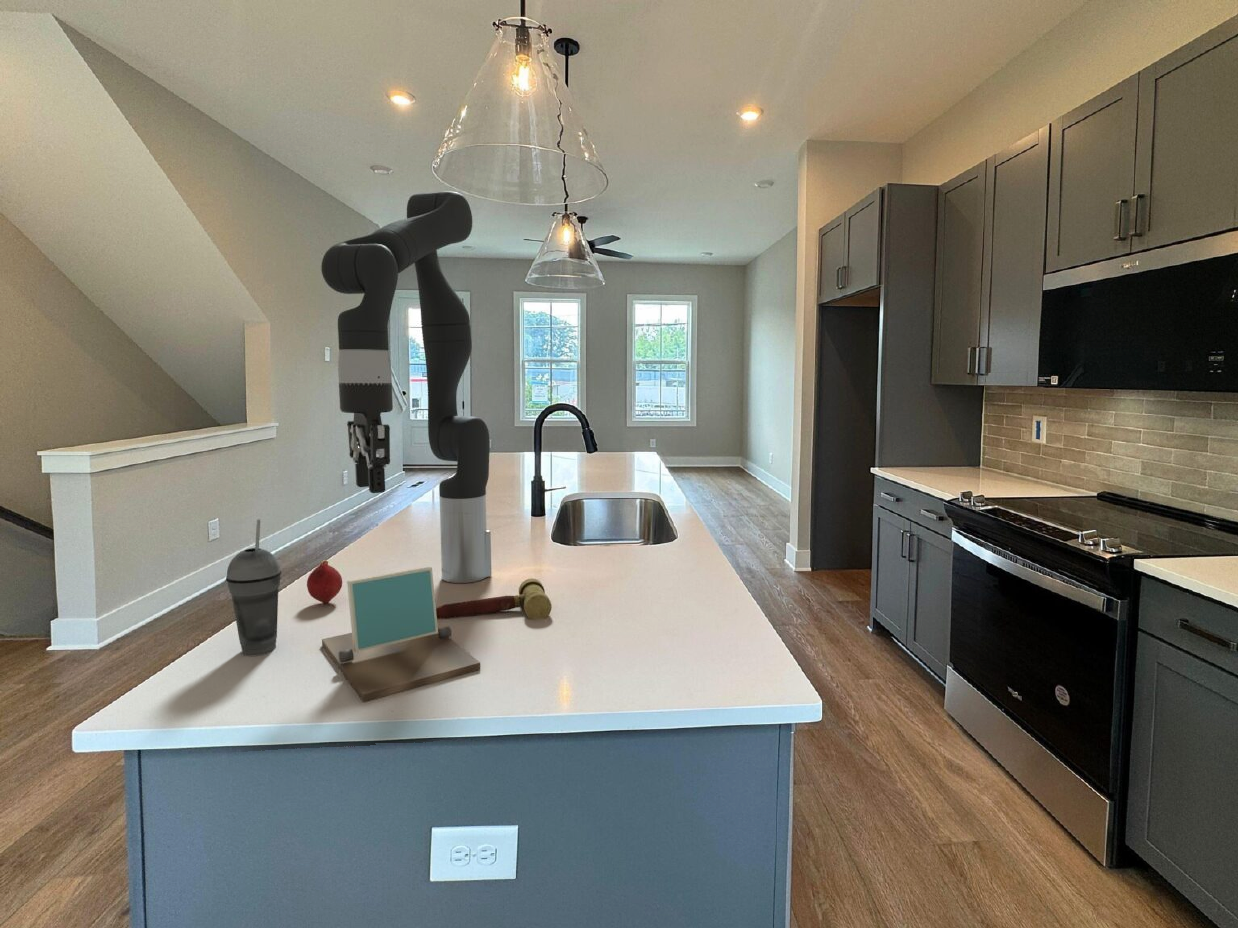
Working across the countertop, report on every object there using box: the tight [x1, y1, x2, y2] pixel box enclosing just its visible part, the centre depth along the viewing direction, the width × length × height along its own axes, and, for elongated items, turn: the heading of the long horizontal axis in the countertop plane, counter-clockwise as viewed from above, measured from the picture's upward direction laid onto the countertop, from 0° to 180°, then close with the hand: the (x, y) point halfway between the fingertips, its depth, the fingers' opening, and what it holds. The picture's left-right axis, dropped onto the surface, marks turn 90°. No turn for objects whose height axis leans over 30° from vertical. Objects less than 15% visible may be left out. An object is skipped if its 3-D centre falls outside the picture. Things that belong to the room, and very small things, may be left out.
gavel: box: [436, 578, 552, 620], centre depth 114 cm, size 21×5×10 cm
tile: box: [346, 566, 439, 652], centre depth 96 cm, size 12×10×1 cm
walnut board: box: [321, 626, 481, 703], centre depth 96 cm, size 16×22×3 cm
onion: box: [306, 559, 343, 604], centre depth 118 cm, size 6×6×8 cm
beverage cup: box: [225, 518, 282, 657], centre depth 97 cm, size 7×7×20 cm
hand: (370, 489), depth 101 cm, fingers open, 6 cm apart
